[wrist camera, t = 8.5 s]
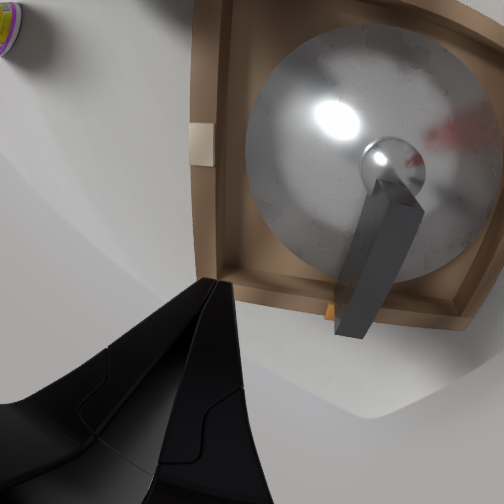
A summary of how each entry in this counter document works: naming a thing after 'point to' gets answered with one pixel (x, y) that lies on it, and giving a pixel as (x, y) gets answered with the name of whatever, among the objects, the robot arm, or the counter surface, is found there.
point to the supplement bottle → (9, 25)
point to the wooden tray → (234, 164)
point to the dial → (373, 160)
